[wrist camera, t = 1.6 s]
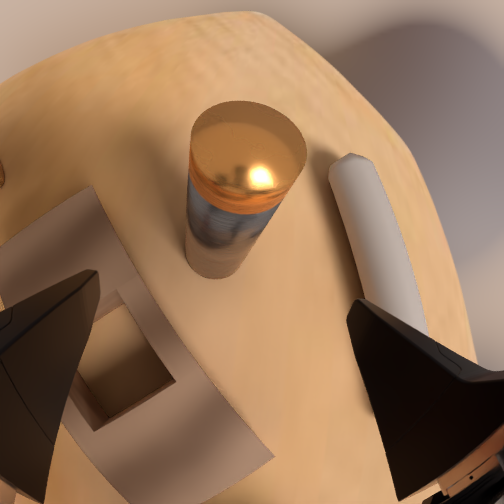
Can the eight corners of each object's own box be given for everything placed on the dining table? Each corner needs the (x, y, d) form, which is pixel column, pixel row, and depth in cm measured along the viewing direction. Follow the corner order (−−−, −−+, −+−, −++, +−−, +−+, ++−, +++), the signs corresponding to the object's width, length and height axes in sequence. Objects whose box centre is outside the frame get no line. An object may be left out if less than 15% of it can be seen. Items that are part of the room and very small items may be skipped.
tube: (323, 147, 24) (397, 435, 16) (375, 140, 24) (451, 409, 16) (317, 177, 29) (377, 418, 22) (362, 169, 29) (424, 399, 21)
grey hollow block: (259, 439, 18) (275, 456, 15) (157, 500, 15) (154, 525, 11) (103, 209, 21) (91, 184, 18) (13, 270, 18) (-11, 255, 14)
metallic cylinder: (255, 259, 23) (328, 161, 11) (207, 290, 21) (236, 210, 9) (222, 214, 24) (260, 91, 12) (174, 241, 22) (169, 121, 10)
